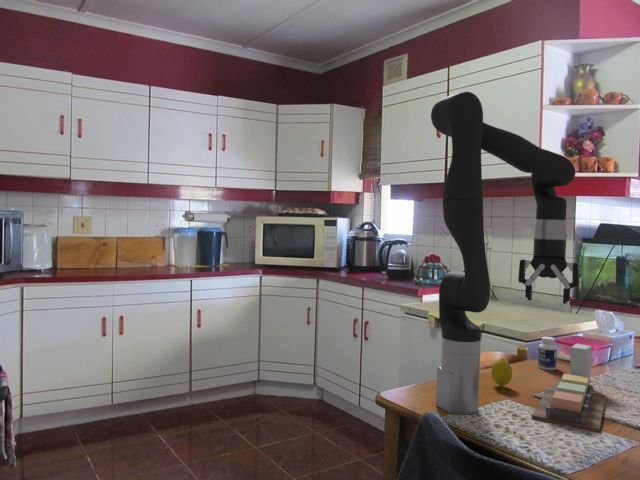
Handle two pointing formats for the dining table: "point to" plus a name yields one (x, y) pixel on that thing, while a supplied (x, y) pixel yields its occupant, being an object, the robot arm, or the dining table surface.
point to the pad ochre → (575, 380)
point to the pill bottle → (547, 354)
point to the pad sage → (572, 389)
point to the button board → (583, 420)
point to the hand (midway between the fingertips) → (547, 301)
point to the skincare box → (580, 361)
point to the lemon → (501, 372)
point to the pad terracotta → (567, 401)
